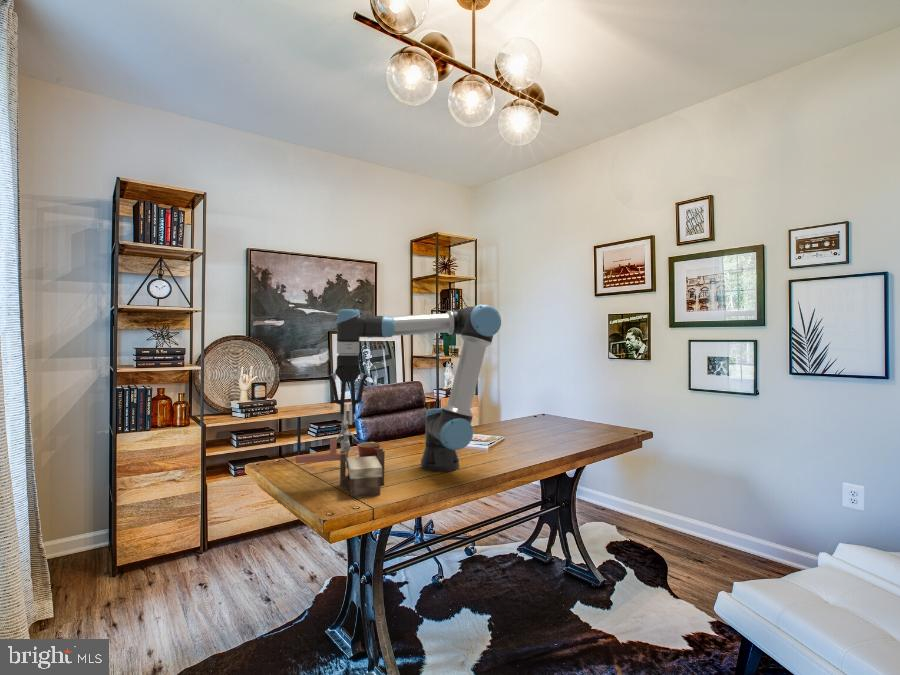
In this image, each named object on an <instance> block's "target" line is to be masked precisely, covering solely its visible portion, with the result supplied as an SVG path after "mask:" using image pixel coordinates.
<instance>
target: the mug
mask: <svg viewBox="0 0 900 675" xmlns="http://www.w3.org/2000/svg"><path fill="white" fill-rule="evenodd" d="M356 445H357V446H356V448H357V450H358V457H368V456H376V457H377V459H378V449H381V443H380V442H375V441H365V442H360V443H357V444H356Z"/></svg>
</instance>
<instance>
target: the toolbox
mask: <svg viewBox="0 0 900 675" xmlns="http://www.w3.org/2000/svg"><path fill="white" fill-rule="evenodd" d="M339 453H345V451H342V450H340V451H339ZM385 455H386V454H385V451H384V449H383V448H380V449H378V461H379V463H380V464H381V466H382V477H372V478H359V479H350V476H349V473H348V472H347V467H346V453H345V454H341V460H339V461H340V462H339V488H340V490H346V489H348V490H349V492H350V497H351V498H362V497H371V496H373V497H374V496H381V487H385V457H386V456H385ZM346 472H347V475H346Z"/></svg>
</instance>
